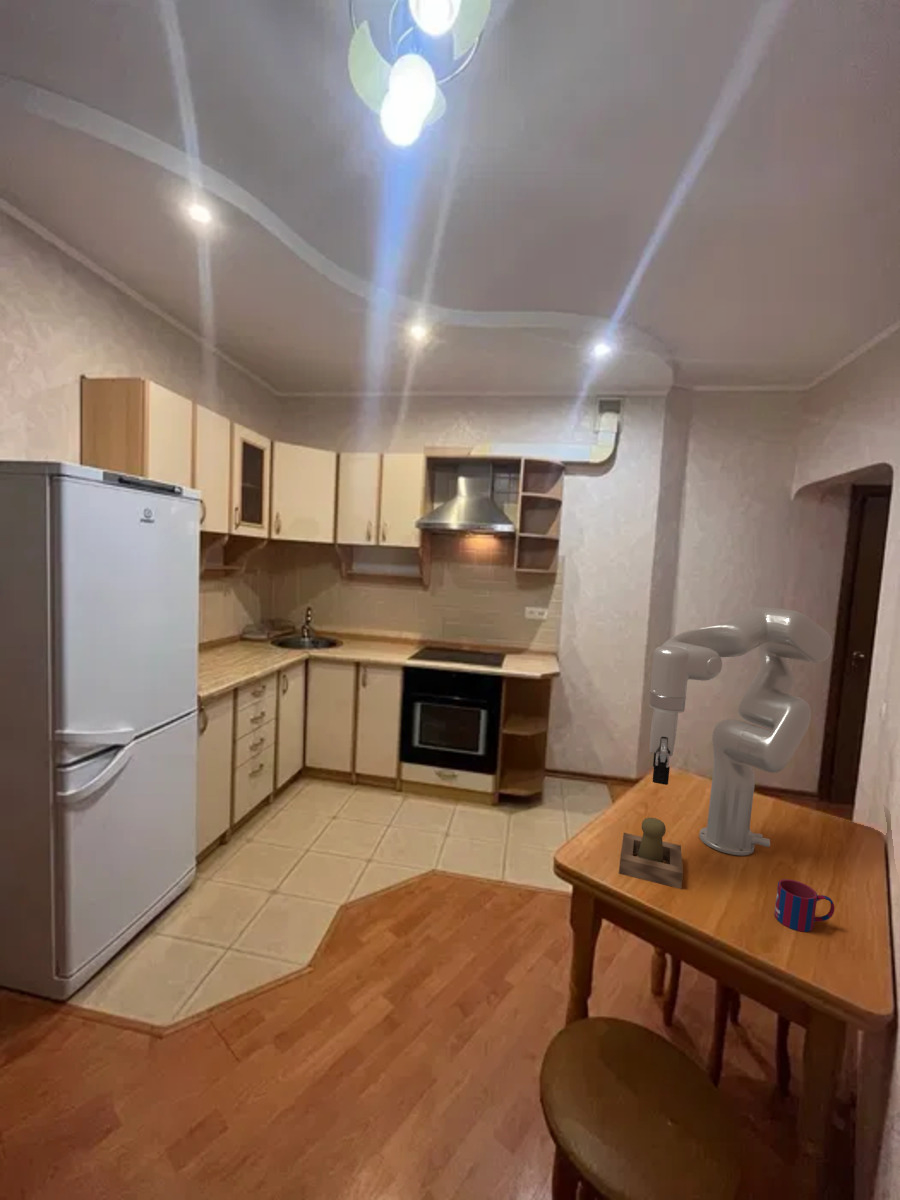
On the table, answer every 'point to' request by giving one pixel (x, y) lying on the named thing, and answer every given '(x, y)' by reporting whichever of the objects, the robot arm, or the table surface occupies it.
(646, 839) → the olive knobbed peg
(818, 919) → the mug
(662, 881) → the walnut holder
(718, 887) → the table surface
